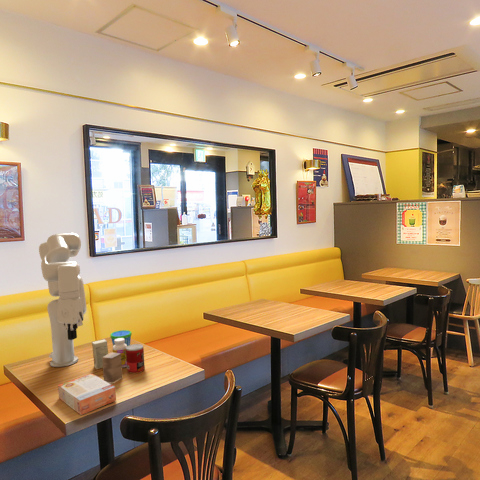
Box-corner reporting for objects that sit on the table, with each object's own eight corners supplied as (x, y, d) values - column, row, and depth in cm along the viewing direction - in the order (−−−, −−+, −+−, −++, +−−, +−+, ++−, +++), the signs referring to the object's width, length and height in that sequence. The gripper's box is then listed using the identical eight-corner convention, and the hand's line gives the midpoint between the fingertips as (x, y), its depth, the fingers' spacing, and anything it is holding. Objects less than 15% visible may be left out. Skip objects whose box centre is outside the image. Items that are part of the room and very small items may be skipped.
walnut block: (104, 382, 171) (102, 357, 171) (113, 376, 177) (111, 352, 176) (113, 383, 169) (111, 358, 169) (122, 377, 175) (120, 353, 174)
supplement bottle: (116, 370, 184) (114, 342, 183) (111, 365, 189) (109, 339, 188) (130, 366, 188) (128, 339, 187) (125, 362, 193) (123, 336, 192)
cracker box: (58, 399, 158) (80, 416, 143) (57, 384, 157) (79, 399, 142) (93, 386, 167) (117, 401, 152) (91, 372, 167) (115, 386, 152)
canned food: (140, 373, 179) (138, 349, 178) (123, 373, 180) (122, 349, 179) (147, 367, 186) (146, 344, 185) (131, 366, 188) (130, 343, 187)
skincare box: (107, 363, 193) (105, 338, 192) (109, 366, 189) (107, 340, 188) (93, 366, 189) (91, 341, 188) (95, 369, 186) (93, 343, 185)
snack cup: (130, 356, 201) (129, 336, 200) (108, 358, 200) (107, 338, 199) (134, 346, 216) (133, 327, 216) (114, 348, 215) (113, 329, 214)
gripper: (48, 295, 161) (51, 340, 162) (76, 298, 155) (79, 344, 157) (62, 291, 168) (65, 334, 169) (90, 293, 162) (93, 337, 164)
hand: (72, 338), depth 163 cm, fingers closed
